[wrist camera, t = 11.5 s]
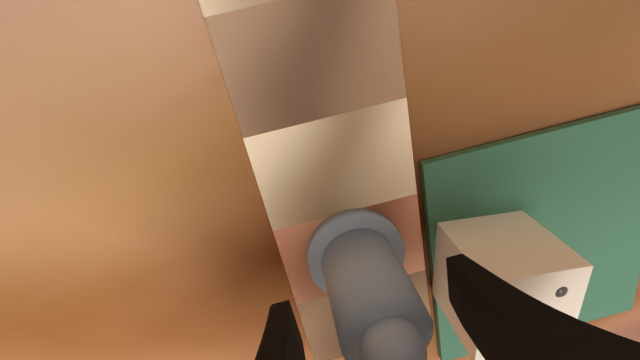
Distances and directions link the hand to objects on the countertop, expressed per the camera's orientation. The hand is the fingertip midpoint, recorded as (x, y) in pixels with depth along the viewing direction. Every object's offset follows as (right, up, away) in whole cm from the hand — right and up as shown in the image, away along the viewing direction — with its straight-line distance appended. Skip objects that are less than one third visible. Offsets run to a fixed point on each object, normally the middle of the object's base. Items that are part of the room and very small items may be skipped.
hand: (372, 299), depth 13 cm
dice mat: (+9, +1, +5) cm, 10 cm away
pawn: (0, +1, +3) cm, 3 cm away
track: (-1, +5, +2) cm, 5 cm away
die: (+5, +1, +4) cm, 7 cm away
